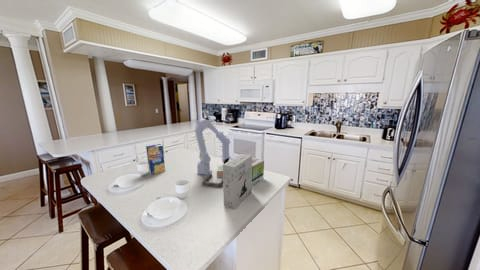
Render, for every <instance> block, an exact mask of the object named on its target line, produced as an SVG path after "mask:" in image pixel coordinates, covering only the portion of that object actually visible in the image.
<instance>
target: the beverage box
mask: <svg viewBox="0 0 480 270" xmlns="http://www.w3.org/2000/svg"><path fill="white" fill-rule="evenodd" d="M146 156H147V166H148V172H149V174H150V175H154V174H157V173H162V172H165V171H166V166H165V155H164V146H163V144H161V143H157V144H151V145H146Z"/></svg>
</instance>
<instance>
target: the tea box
mask: <svg viewBox="0 0 480 270" xmlns="http://www.w3.org/2000/svg"><path fill="white" fill-rule="evenodd" d="M264 171H265V160H261V159H258V158H254V157H252V187H253V186H254V184H255V185H256V184H258V183H259V182H260V181H262V180H263V179H264ZM261 179H262V180H261ZM258 181H259V182H258Z"/></svg>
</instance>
